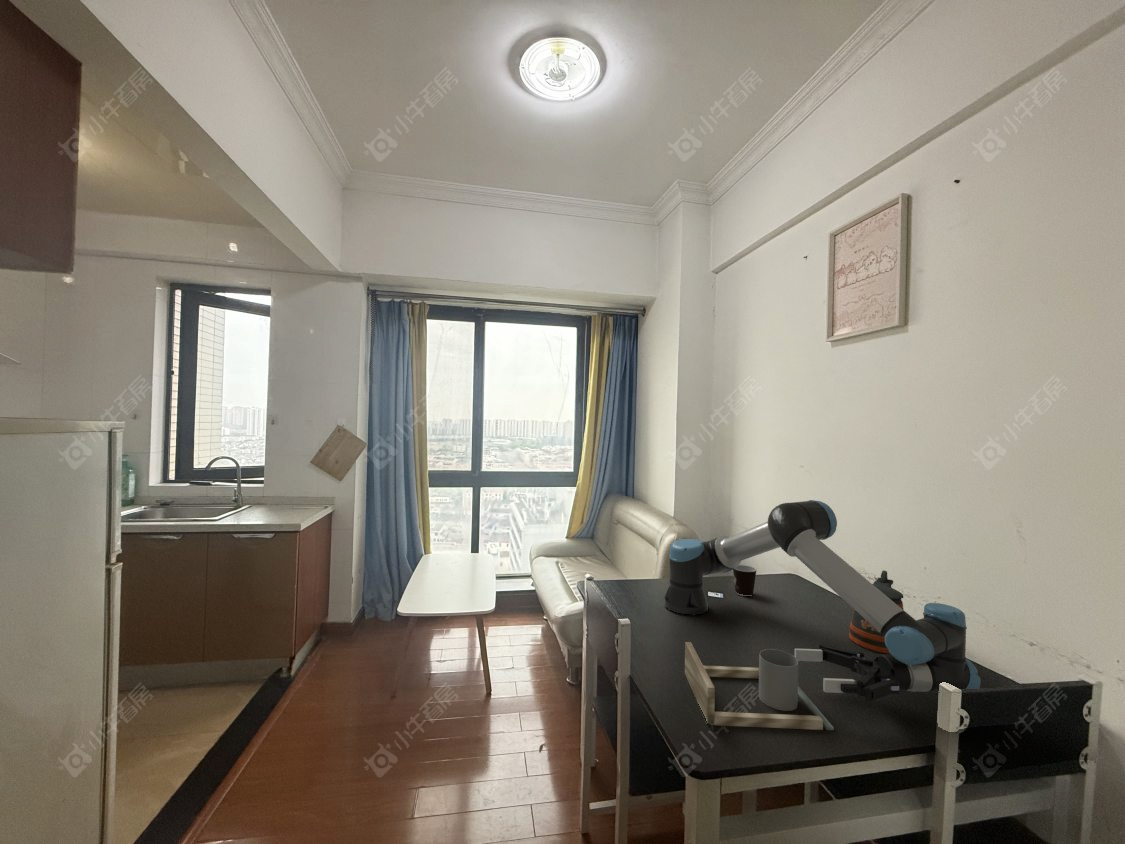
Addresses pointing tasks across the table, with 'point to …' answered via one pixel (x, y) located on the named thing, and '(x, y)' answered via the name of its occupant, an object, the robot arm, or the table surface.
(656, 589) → the table surface
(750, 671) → the bay
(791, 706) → the cup
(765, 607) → the table surface
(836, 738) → the table surface
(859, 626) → the beer stein
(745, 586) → the coffee mug
